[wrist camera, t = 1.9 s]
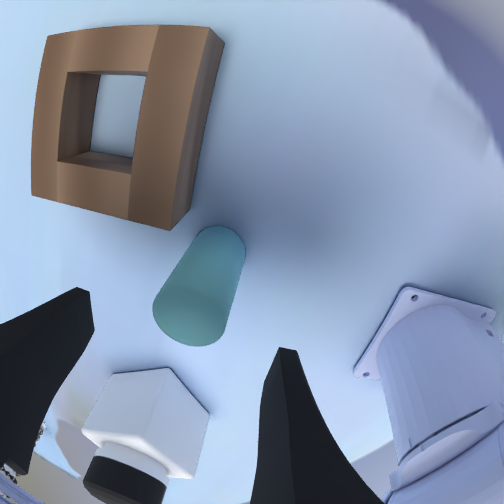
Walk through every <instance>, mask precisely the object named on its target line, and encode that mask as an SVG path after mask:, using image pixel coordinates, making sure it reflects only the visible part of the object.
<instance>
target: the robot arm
mask: <svg viewBox="0 0 504 504" xmlns="http://www.w3.org/2000/svg"><path fill="white" fill-rule="evenodd" d="M413 295H416V296H415V297H414V298H411V297H412V296H413ZM495 316H496V312H495V311H494V310H493V309H490V308H487V307H483V306H479V305H476V304H472V303H468V302H465V301H461V300H457V299H454V298H450V297H446V296H443V295H439V294H435V293H431V292H428V291H424V290H420V289H417V288H413V287H405V288H403V289H402V290H401V292H400V293H399V295H398V297H397V299H396V301H395V303H394V304H393V306H392V308H391V310H390V312H389V313H388V315H387V317H386V319H385V320H384V322H383V324H382V325H381V327H380V329H379V330H378V332H377V334H376V335H375V337H374V339H373V340H372V342H371V344H370V345H369V347H368V348H367V350H366V351H365V353H364V355H363V356H362V358H361V359H360V361H359V362H358V364H357V365H356V367H355V368H354V370H353V373H354V376H355V377H358V378H366V379H374V380H381V382H382V386H383V391H384V395H385V399H386V403H387V408H388V412H389V417H390V422H391V427H392V432H393V437H394V442H395V447H396V452H397V458H398V464H399V468H398V469H397V470H396V471H394V472H393V473H391V474H390V483H391V489H390V490H389V491H388V492H387V493H385V495H384V496H383V497H382V498H381V500H380V499H379V498H378V497H377V496H376V494H374V492H373V491H372V490H371V489H370V488H369V487H368V486H367V485H366V483H365V482H364V481H363V480H362V478H361V477H360V476H359V475H358V473H357V472H356V471H355V469H354V468H353V467H352V466H351V464H350V463H349V462H348V460H347V459H346V457H345V456H344V454H343V453H342V451H341V450H340V448H339V446H338V445H337V443H336V441H335V440H334V438H333V436H332V434H331V433H330V431H329V429H328V427H327V425H326V423H325V421H324V419H323V417H322V415H321V413H320V411H319V409H318V406H317V404H316V402H315V399H314V397H313V395H312V392H311V390H310V387H309V385H308V382H307V379H306V376H305V374H304V371H303V368H302V365H301V362H300V359H299V355H298V353H297V351H296V350H291V349H286V348H282V347H279V349H278V351H277V353H276V356H275V358H274V360H273V363H272V365H271V367H270V370H269V372H268V374H267V376H266V379H265V381H264V386H263V392H262V398H261V404H260V418H259V439H258V459H257V468H256V474H255V480H254V486H253V491H252V496H251V501H250V504H504V344H503V342H502V340H501V339H500V337H499V336H498V334H497V333H496V331H495V330H494V329H493V327H492V326H491V323H492V321H493V320H494V318H495ZM94 331H95V330H94V323H93V316H92V309H91V301H90V292H89V291H86V290H84V289H81V288H78V287H76V288H74V289H71V290H69V291H67V292H65V293H63V294H61V295H59V296H57V297H56V298H54V299H52V300H50V301H48V302H46V303H44V304H42V305H40V306H38V307H36V308H34V309H33V310H31V311H28V312H26V313H24V314H22V315H20V316H18V317H16V318H14V319H12V320H9V321H7V322H5V323H2V324H0V466H1V467H3V466H4V464H6V465H7V466H8V467H10V468H11V469H13V470H14V471H15V472H17V473H18V474H19V475H26V474H28V470H29V465H30V460H31V456H32V452H33V449H34V445H35V442H36V439H37V436H38V433H39V430H40V428H41V425H42V423H43V420H44V418H45V415H46V413H47V411H48V409H49V406H50V404H51V402H52V400H53V398H54V396H55V395H56V393H57V391H58V389H59V388H60V386H61V385H62V383H63V382H64V380H65V379H66V377H67V376H68V374H69V373H70V371H71V370H72V369H73V367H74V366H75V364H76V363H77V361H78V360H79V358H80V357H81V355H82V354H83V352H84V351H85V349H86V347H87V345H88V343H89V341H90V339H91V337H92V335H93V333H94ZM365 372H366V373H365ZM0 490H1V491H2V492H3V493H5V494H6V495H7V496H9V497H10V498H11V499H13V500H14V501H15V502H17V503H18V504H45V503H43V502H42V501H40V500H38V499H37V498H35V497H34V496H32V495H31V494H29V493H28V492H26V491H25V490H23V489H22V488H20V487H19V486H18V485H16V484H15V483H14V482H12V481H11V480H10V479H8V478H7V477H6V476H4V475H3V474H2V473H0ZM0 504H14V503H13V502H11V501H9V500H8V499H6V498H5V497H3V496H2V495H0Z"/></svg>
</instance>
